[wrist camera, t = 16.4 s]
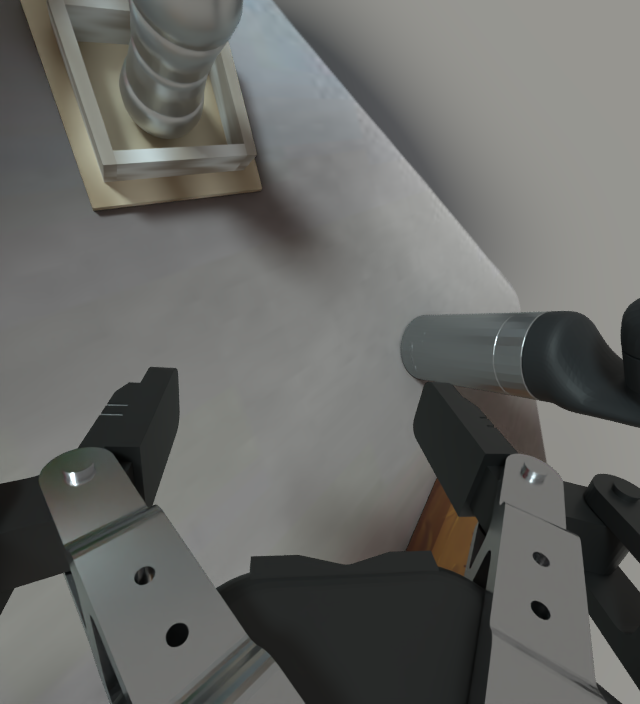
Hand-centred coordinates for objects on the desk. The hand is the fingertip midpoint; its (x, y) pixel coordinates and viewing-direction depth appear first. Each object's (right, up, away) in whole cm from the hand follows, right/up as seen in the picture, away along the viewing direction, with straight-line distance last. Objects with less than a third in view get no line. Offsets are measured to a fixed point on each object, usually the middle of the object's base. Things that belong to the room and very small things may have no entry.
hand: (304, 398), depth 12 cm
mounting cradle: (-15, +24, +23) cm, 36 cm away
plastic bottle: (-14, +24, +22) cm, 35 cm away
